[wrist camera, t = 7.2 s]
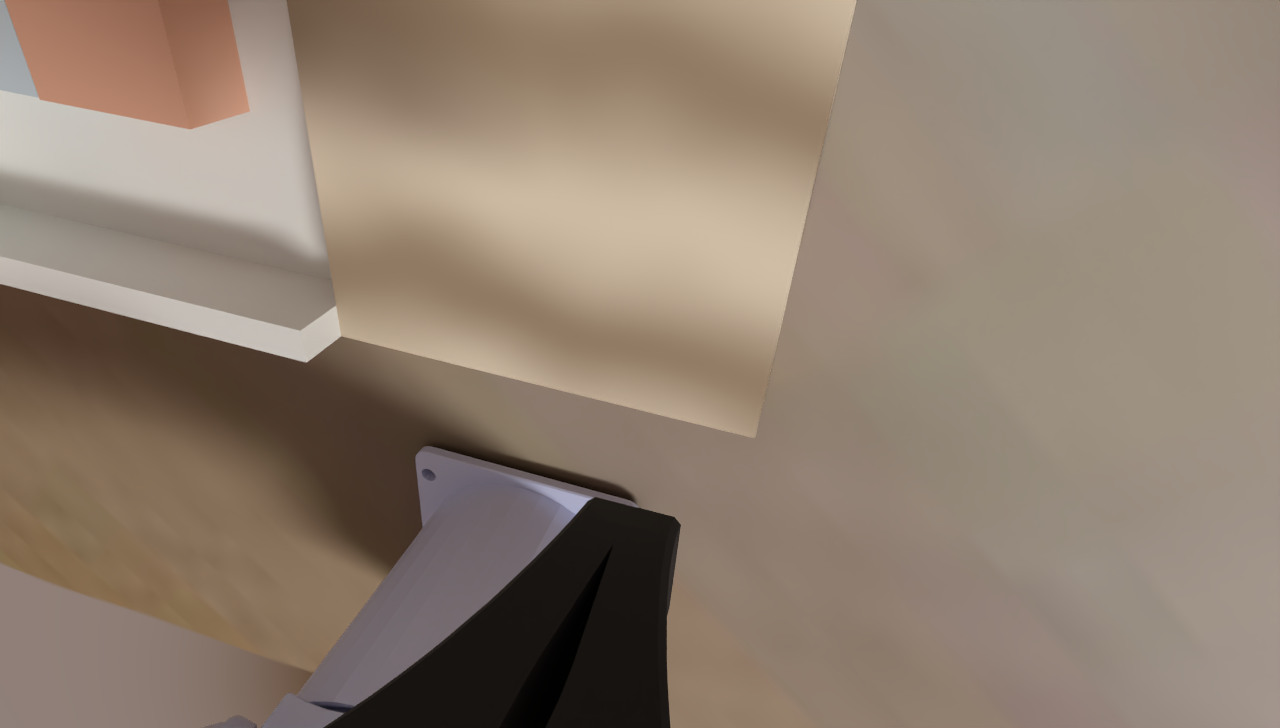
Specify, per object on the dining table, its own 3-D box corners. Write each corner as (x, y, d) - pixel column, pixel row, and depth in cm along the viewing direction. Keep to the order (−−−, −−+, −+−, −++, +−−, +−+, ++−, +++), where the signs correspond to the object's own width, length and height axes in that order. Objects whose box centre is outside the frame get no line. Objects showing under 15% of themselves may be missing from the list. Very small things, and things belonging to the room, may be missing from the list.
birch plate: (765, 395, 20) (754, 438, 18) (380, 305, 22) (341, 336, 20) (957, -436, 11) (970, -497, 9) (288, -448, 13) (204, -501, 12)
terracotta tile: (249, 111, 19) (190, 129, 17) (109, 84, 20) (39, 99, 18) (209, -90, 16) (134, -92, 15) (51, -111, 17) (-36, -115, 16)
